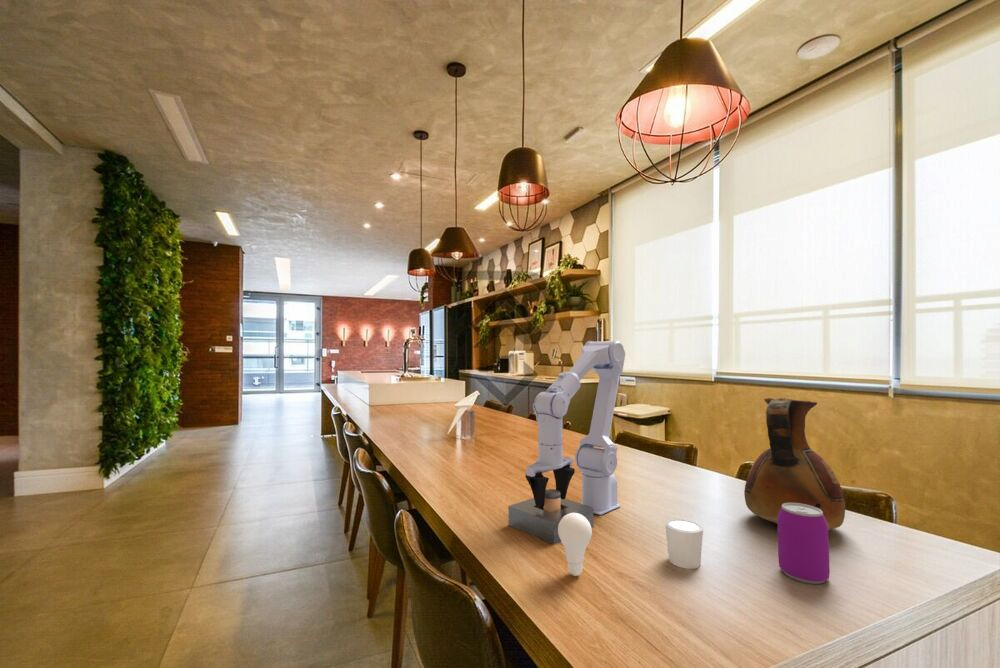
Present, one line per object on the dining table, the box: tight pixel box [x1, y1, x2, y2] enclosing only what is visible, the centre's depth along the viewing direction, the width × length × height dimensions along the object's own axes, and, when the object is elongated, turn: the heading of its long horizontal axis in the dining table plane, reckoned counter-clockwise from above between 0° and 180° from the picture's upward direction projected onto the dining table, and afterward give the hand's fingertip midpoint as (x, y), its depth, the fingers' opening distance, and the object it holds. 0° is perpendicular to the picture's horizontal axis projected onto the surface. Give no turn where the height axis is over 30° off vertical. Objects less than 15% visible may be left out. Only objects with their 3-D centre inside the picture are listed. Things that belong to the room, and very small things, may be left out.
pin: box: [543, 488, 561, 513], centre depth 102 cm, size 4×4×8 cm
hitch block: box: [507, 497, 594, 545], centre depth 102 cm, size 14×14×4 cm
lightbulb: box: [558, 513, 593, 577], centre depth 80 cm, size 6×6×11 cm
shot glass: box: [664, 518, 704, 570], centre depth 85 cm, size 7×7×7 cm
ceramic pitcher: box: [743, 397, 846, 531], centre depth 104 cm, size 20×20×30 cm
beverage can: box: [777, 503, 831, 585], centre depth 80 cm, size 8×8×12 cm
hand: (550, 501), depth 103 cm, fingers open, 7 cm apart
